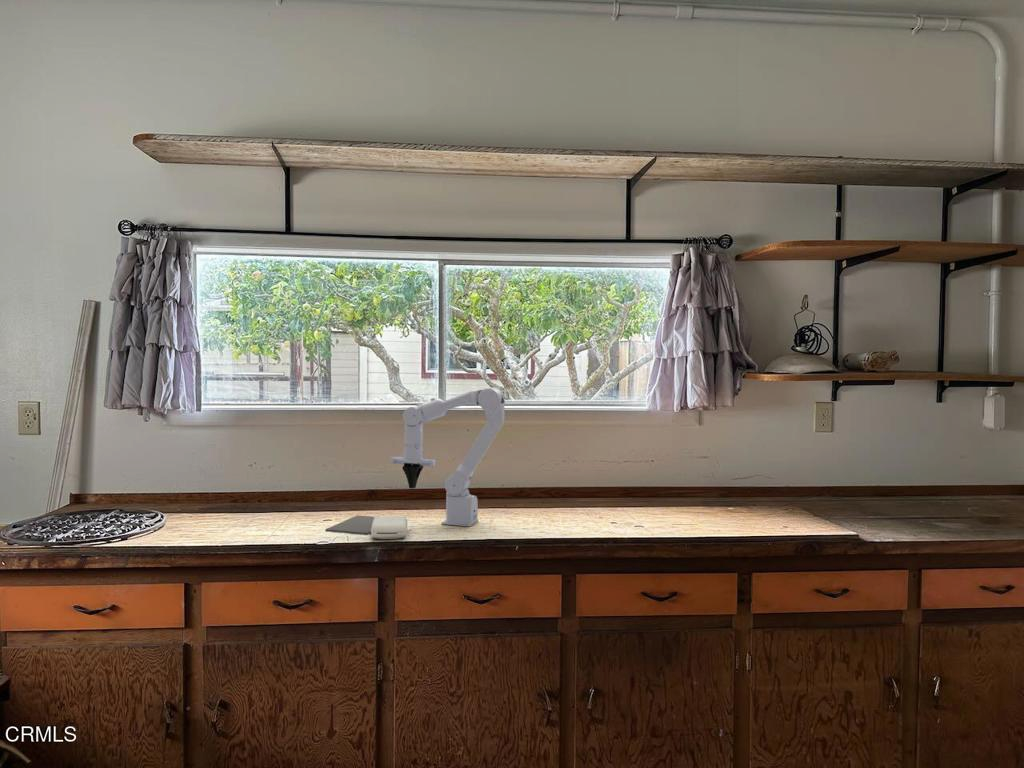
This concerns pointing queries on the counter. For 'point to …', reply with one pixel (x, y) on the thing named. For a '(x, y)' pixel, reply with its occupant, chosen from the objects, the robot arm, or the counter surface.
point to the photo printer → (389, 527)
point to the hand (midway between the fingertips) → (412, 487)
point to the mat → (354, 525)
